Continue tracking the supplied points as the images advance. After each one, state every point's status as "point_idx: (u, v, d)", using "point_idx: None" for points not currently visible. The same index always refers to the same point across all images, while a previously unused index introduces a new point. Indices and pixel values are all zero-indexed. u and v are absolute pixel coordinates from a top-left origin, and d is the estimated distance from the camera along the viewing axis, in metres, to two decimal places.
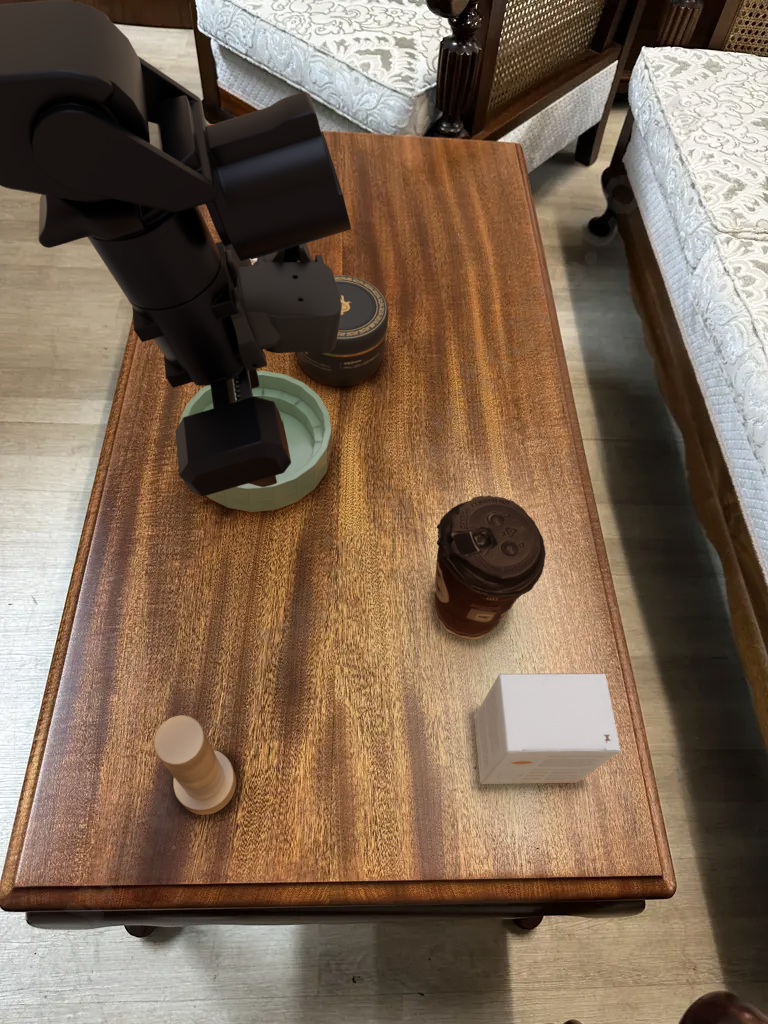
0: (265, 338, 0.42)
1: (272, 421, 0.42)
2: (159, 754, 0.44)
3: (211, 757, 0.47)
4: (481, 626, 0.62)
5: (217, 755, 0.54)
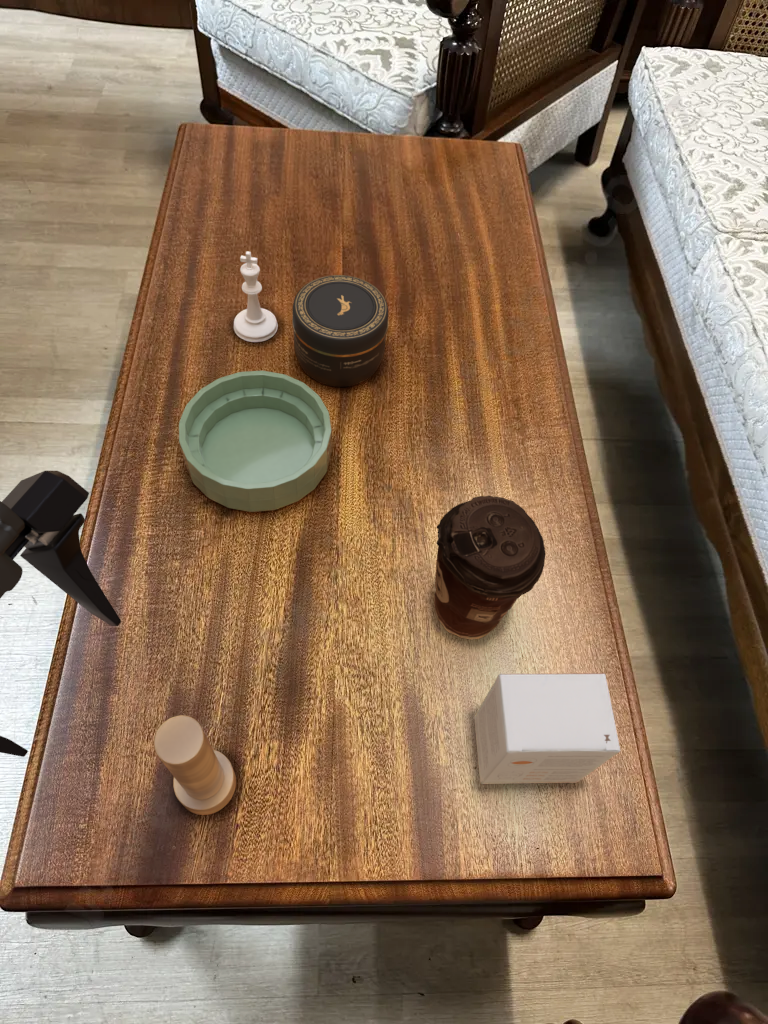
0: None
1: None
2: (159, 754, 0.44)
3: (211, 757, 0.47)
4: (481, 626, 0.62)
5: (217, 755, 0.54)
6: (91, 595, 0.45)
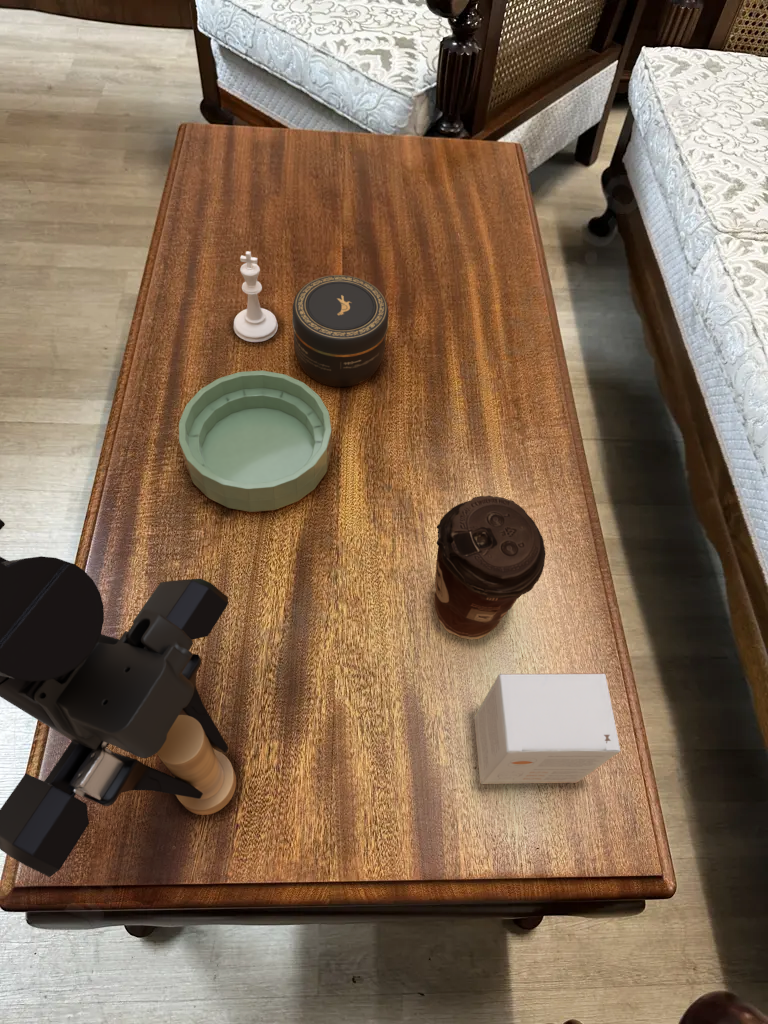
0: (75, 729, 0.40)
1: (47, 821, 0.39)
2: (159, 754, 0.44)
3: (211, 757, 0.48)
4: (481, 626, 0.62)
5: (217, 755, 0.54)
6: (204, 728, 0.48)
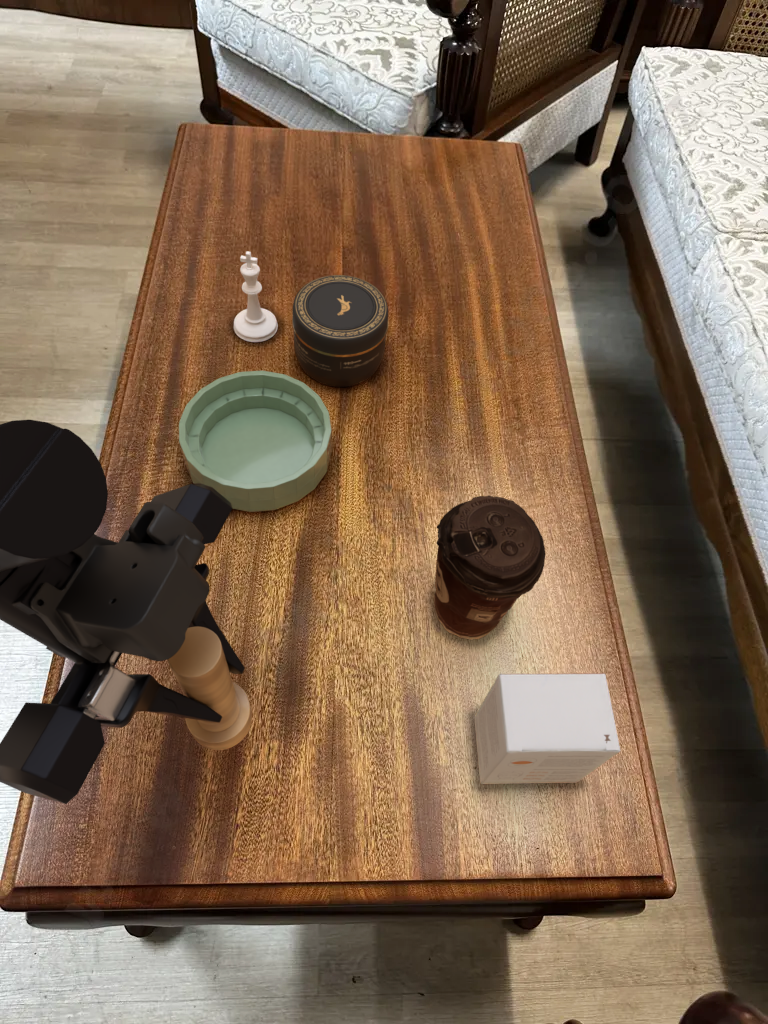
0: (80, 639, 0.35)
1: (58, 742, 0.35)
2: (174, 668, 0.40)
3: (229, 675, 0.44)
4: (481, 626, 0.62)
5: None
6: None
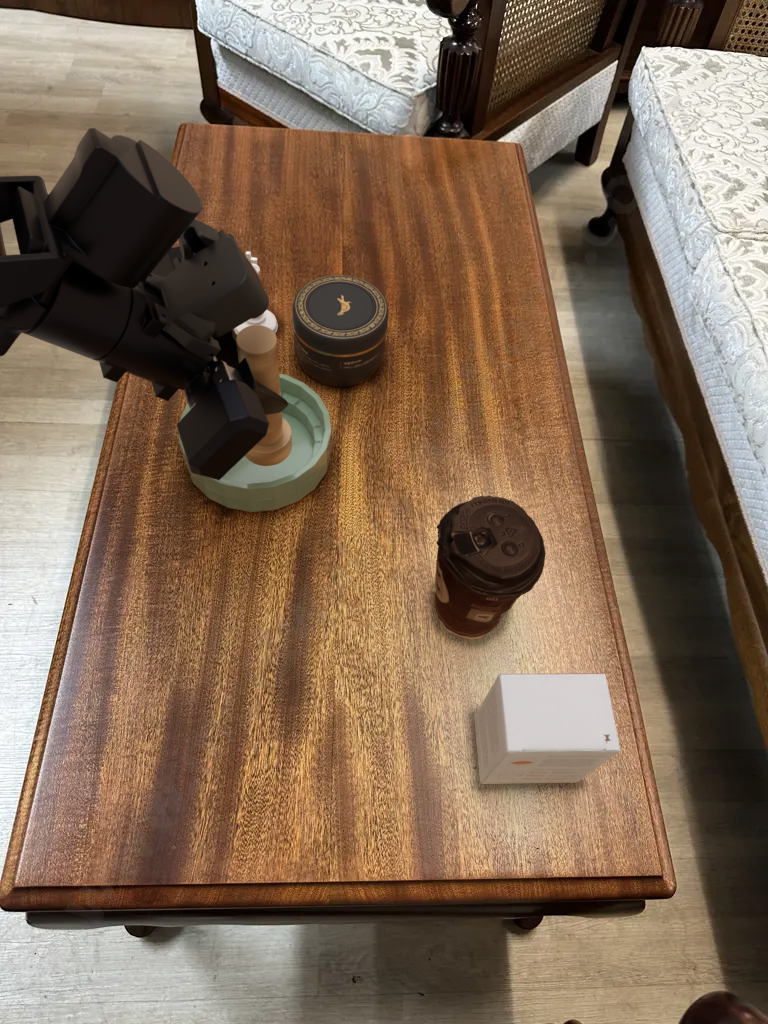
0: (202, 331, 0.47)
1: (235, 398, 0.47)
2: (254, 352, 0.52)
3: None
4: (481, 626, 0.62)
5: None
6: None
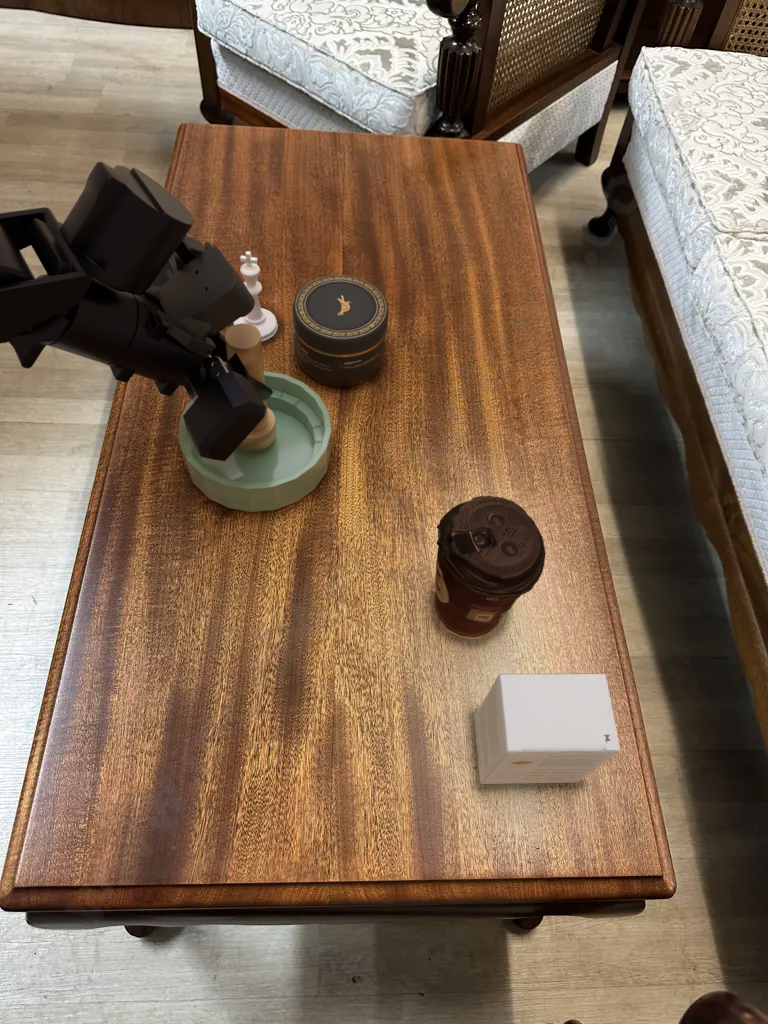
0: (199, 331, 0.54)
1: (235, 387, 0.54)
2: (242, 347, 0.59)
3: None
4: (481, 626, 0.62)
5: None
6: None
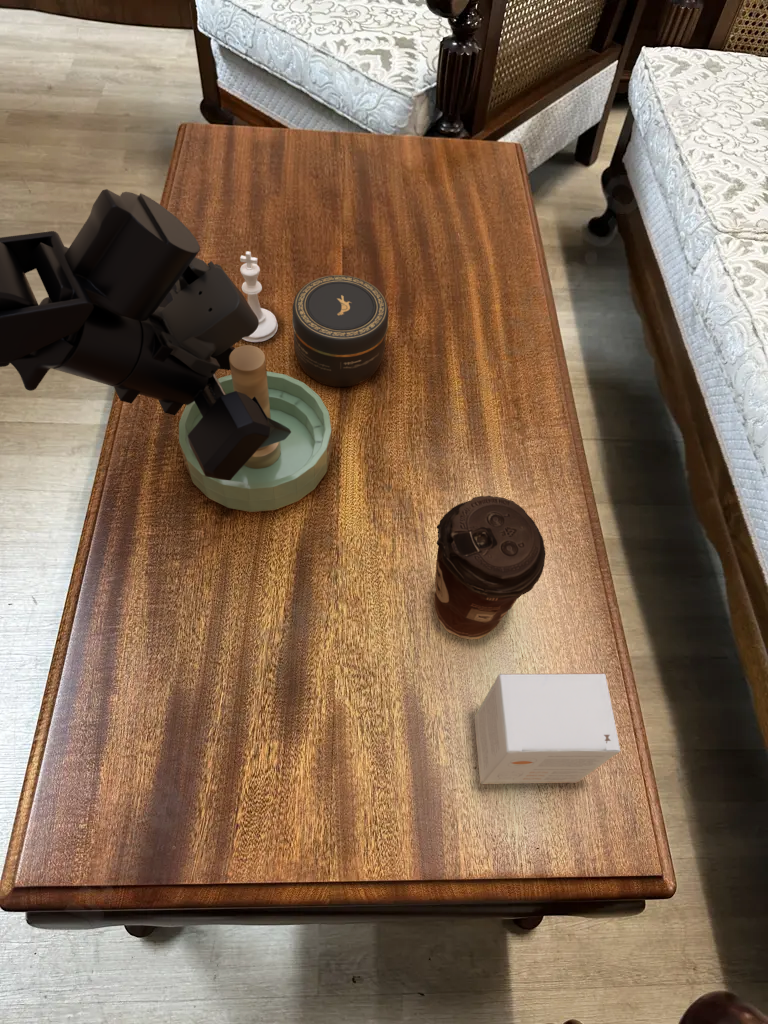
0: (204, 351, 0.54)
1: (239, 407, 0.54)
2: (247, 369, 0.60)
3: None
4: (481, 626, 0.62)
5: None
6: None
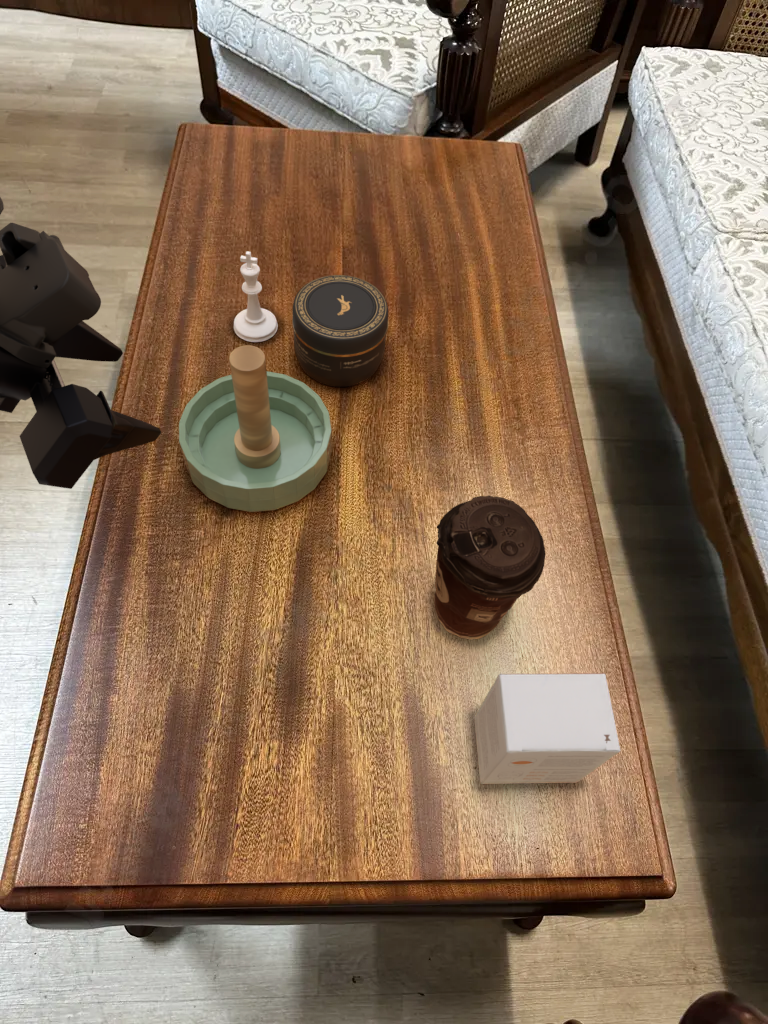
0: (31, 337, 0.46)
1: (73, 403, 0.46)
2: (247, 369, 0.60)
3: None
4: (481, 626, 0.62)
5: None
6: (94, 334, 0.57)
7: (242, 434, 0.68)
